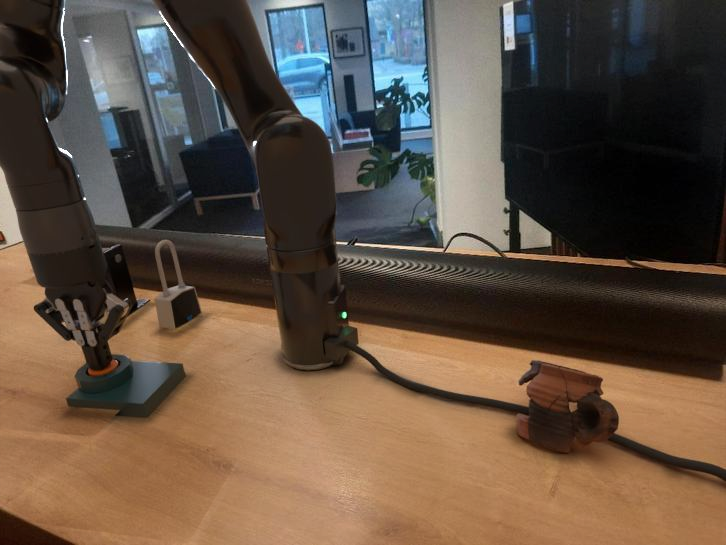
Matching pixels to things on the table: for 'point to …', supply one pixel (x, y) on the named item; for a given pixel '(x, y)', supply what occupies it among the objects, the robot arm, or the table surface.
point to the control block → (127, 386)
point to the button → (108, 369)
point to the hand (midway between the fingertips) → (101, 366)
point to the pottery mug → (565, 408)
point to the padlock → (175, 296)
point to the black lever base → (121, 277)
